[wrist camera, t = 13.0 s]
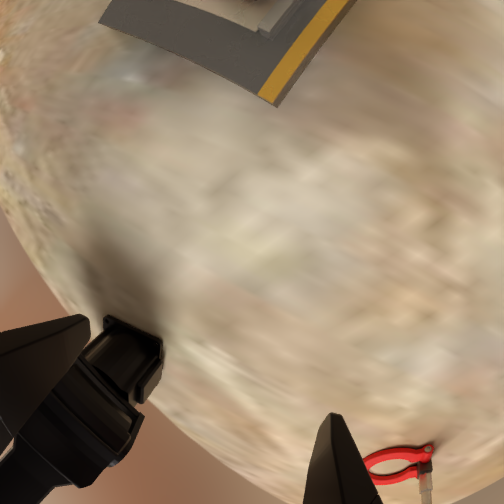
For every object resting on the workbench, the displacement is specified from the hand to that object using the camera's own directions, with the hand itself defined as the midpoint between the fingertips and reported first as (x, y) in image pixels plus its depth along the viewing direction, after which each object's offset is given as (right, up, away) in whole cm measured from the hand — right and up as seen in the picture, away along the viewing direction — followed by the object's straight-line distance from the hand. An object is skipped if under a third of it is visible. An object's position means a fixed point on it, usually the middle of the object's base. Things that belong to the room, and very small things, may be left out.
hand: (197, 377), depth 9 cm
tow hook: (+19, -21, +17) cm, 33 cm away
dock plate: (+2, +25, +5) cm, 25 cm away
